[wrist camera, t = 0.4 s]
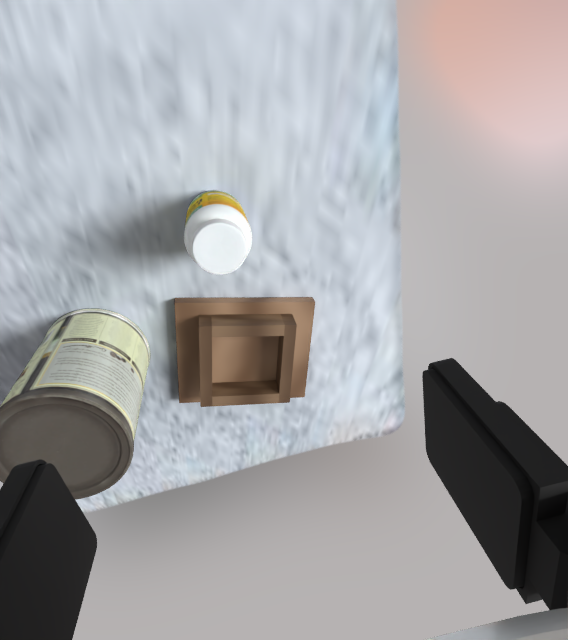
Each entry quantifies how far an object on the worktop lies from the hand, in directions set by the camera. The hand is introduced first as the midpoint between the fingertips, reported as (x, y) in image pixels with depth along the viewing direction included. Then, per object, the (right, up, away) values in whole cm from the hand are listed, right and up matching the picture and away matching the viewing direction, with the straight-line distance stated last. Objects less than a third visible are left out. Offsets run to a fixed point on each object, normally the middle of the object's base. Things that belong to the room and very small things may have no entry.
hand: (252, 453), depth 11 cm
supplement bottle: (-6, +13, +29) cm, 32 cm away
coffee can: (-18, 0, +33) cm, 38 cm away
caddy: (-4, 0, +36) cm, 36 cm away
